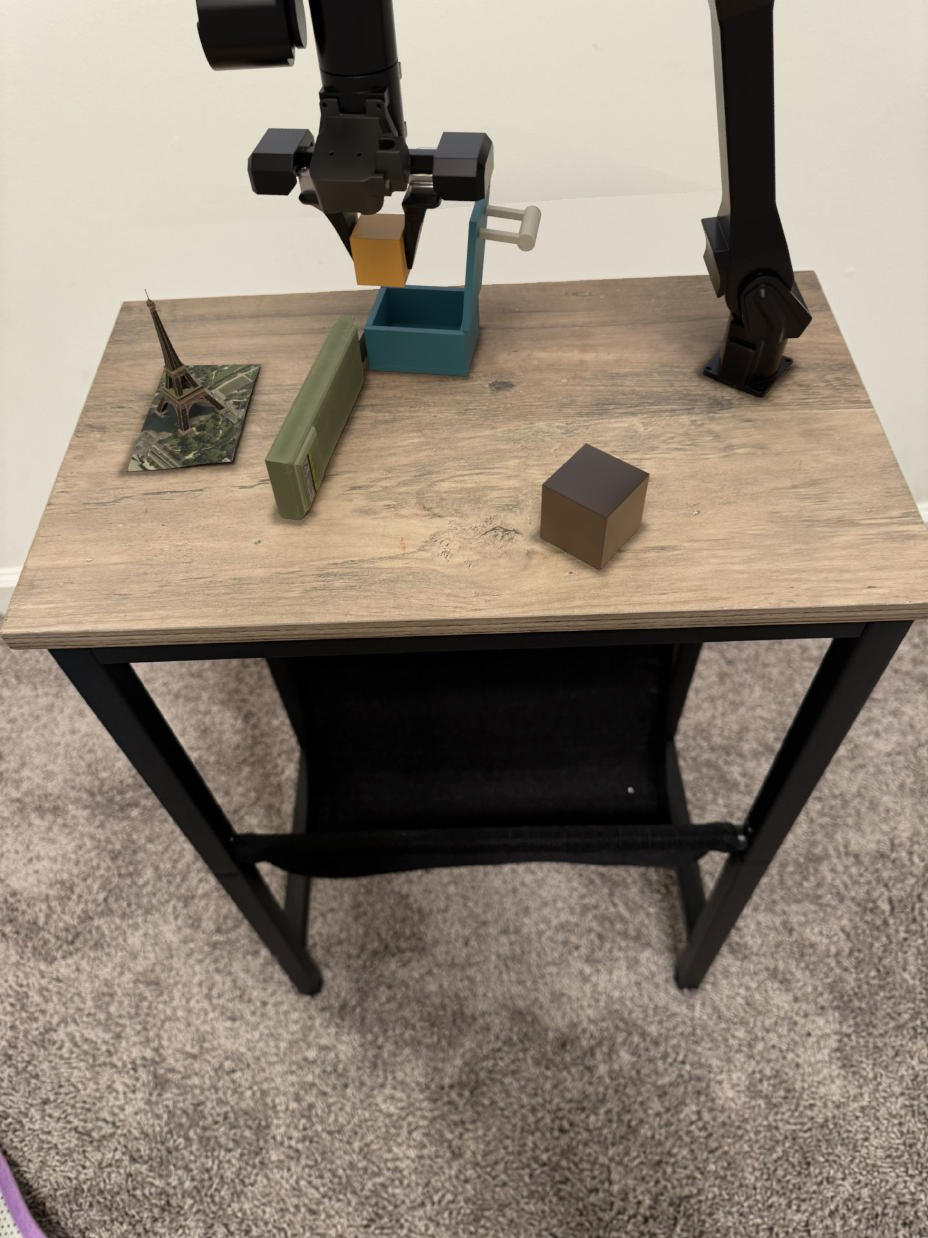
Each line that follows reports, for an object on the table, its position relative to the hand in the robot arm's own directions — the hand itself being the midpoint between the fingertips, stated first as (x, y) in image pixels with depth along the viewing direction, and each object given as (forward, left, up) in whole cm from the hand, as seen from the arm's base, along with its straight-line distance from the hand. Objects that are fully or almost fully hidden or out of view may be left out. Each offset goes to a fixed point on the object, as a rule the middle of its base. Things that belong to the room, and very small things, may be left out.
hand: (384, 265), depth 72 cm
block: (0, 0, -1) cm, 1 cm away
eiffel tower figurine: (+15, -13, -13) cm, 24 cm away
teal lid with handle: (-8, +3, -2) cm, 9 cm away
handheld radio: (+8, -1, -13) cm, 15 cm away
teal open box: (-6, -2, -12) cm, 14 cm away
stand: (+5, +26, -12) cm, 29 cm away
